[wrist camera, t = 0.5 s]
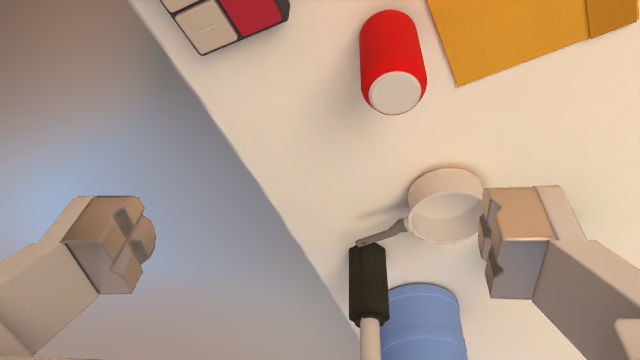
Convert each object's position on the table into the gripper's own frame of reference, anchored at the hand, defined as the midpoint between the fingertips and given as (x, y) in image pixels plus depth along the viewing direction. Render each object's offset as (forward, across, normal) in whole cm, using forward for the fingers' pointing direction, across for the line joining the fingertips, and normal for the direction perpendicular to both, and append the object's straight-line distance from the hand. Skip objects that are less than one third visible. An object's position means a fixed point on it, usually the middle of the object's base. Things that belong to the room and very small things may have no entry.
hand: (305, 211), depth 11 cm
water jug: (+48, -7, +70) cm, 85 cm away
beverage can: (+42, -2, +12) cm, 44 cm away
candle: (+46, +2, +52) cm, 69 cm away
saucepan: (+45, -6, +39) cm, 60 cm away
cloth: (+42, -17, +10) cm, 46 cm away
